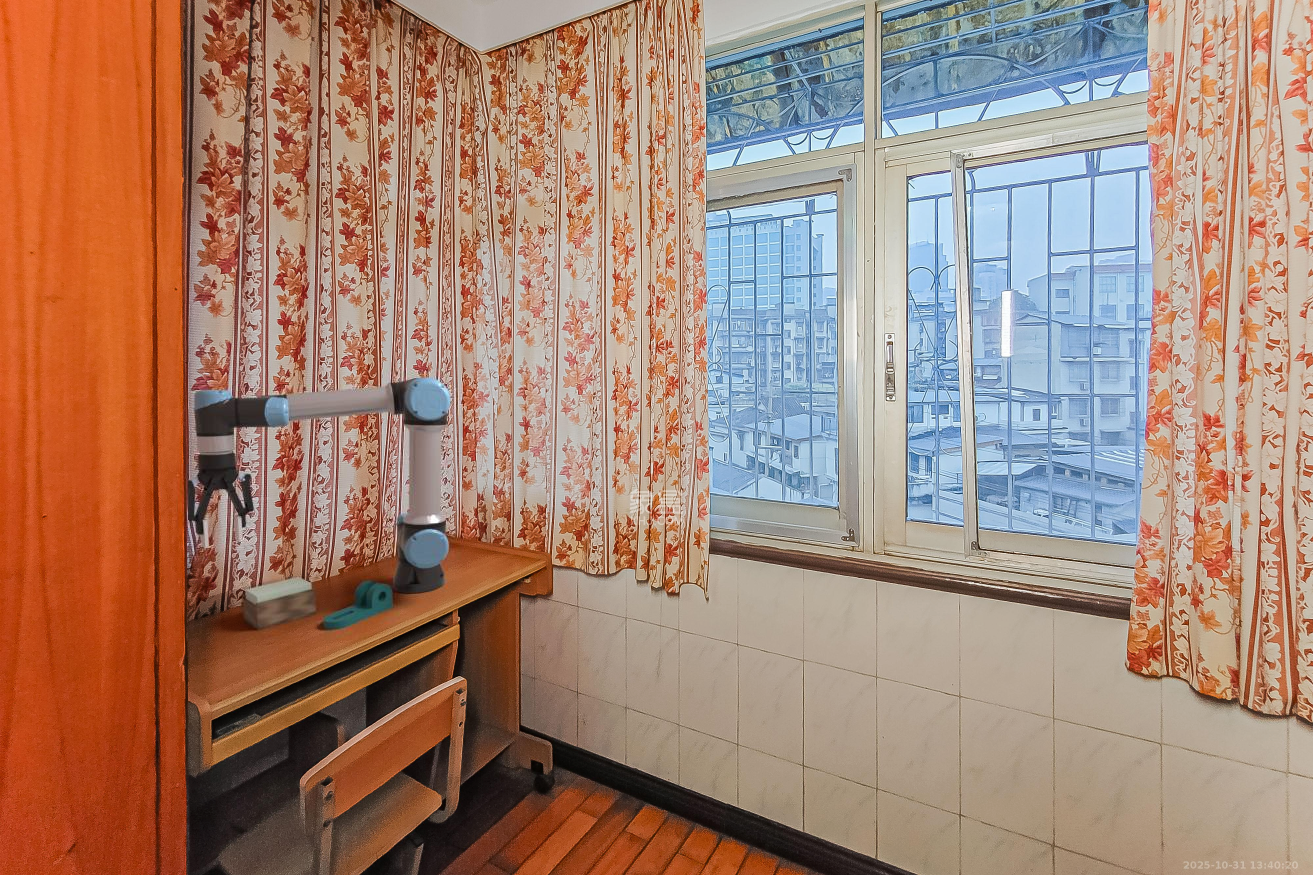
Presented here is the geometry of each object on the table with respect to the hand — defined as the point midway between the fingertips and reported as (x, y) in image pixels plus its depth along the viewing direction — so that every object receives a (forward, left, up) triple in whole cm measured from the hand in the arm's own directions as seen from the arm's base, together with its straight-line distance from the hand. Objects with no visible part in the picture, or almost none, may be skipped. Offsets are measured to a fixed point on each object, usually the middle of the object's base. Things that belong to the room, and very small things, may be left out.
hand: (222, 543), depth 150 cm
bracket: (-25, +16, -23) cm, 38 cm away
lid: (-12, 0, -17) cm, 21 cm away
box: (-12, 0, -23) cm, 26 cm away
